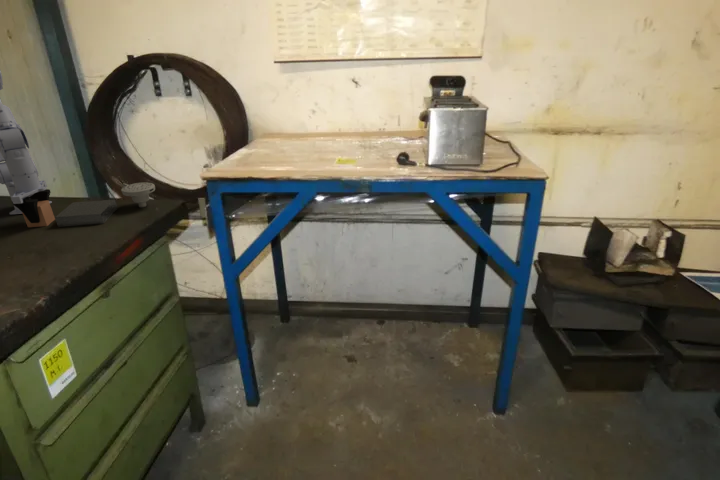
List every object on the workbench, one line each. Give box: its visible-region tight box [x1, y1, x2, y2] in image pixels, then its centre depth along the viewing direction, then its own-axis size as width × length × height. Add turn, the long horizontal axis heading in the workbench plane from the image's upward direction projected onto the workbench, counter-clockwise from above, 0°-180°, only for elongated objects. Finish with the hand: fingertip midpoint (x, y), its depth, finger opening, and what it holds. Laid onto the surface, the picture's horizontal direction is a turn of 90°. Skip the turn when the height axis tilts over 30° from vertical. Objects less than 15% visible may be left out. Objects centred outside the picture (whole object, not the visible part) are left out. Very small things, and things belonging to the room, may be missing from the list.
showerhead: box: [120, 181, 156, 208], centre depth 133 cm, size 9×7×10 cm
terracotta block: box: [22, 199, 56, 228], centre depth 121 cm, size 5×5×6 cm
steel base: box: [54, 199, 118, 228], centre depth 125 cm, size 12×12×3 cm
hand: (40, 218), depth 122 cm, fingers closed on terracotta block, 5 cm apart
